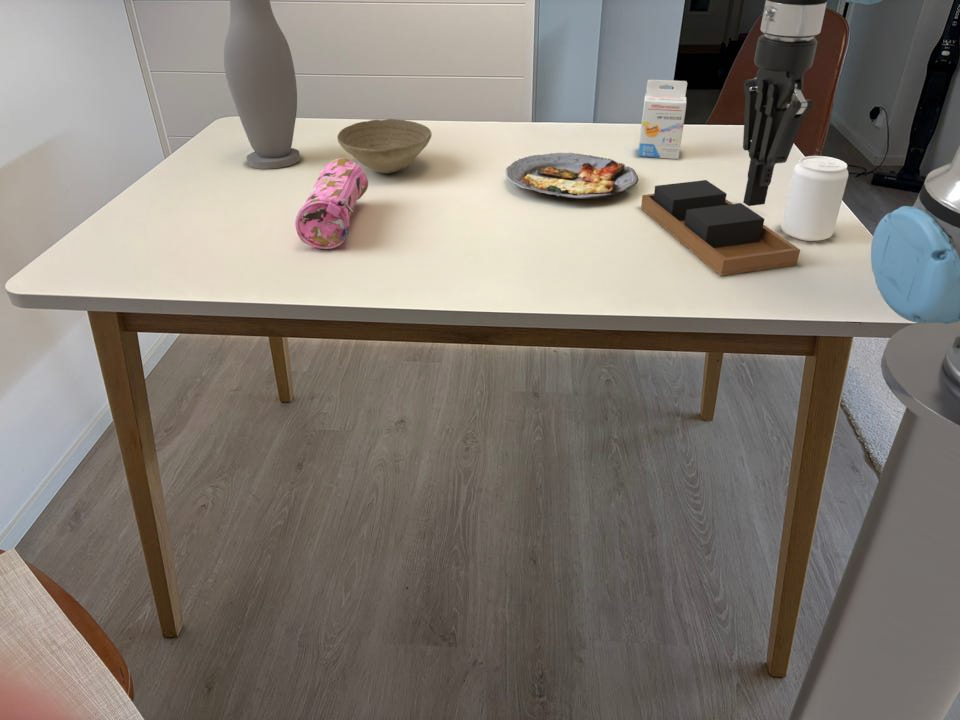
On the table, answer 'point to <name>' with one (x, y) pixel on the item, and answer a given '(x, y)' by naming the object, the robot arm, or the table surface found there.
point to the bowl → (385, 143)
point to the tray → (728, 258)
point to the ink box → (663, 119)
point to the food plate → (572, 175)
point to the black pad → (725, 224)
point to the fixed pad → (688, 197)
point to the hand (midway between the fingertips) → (753, 203)
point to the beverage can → (814, 198)
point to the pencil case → (331, 204)
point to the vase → (262, 83)
